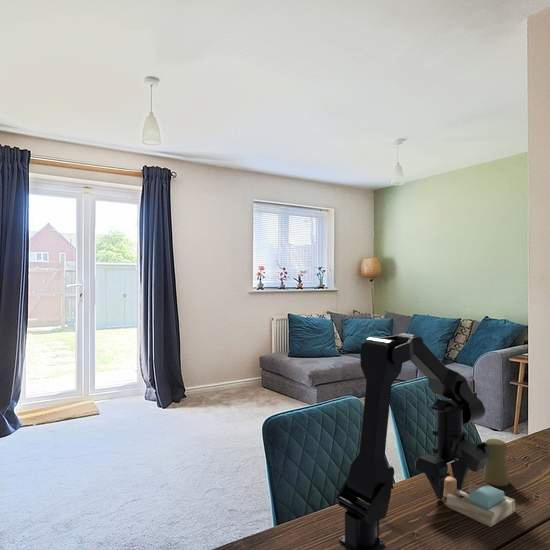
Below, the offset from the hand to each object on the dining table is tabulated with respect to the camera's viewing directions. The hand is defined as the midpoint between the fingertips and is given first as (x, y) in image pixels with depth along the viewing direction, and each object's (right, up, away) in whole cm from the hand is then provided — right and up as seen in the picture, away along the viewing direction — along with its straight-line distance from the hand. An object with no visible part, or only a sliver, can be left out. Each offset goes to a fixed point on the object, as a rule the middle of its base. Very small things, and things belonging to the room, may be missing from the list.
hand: (449, 494), depth 105 cm
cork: (+14, -1, +7) cm, 16 cm away
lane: (+4, -1, -6) cm, 8 cm away
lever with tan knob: (+3, -1, -4) cm, 5 cm away
